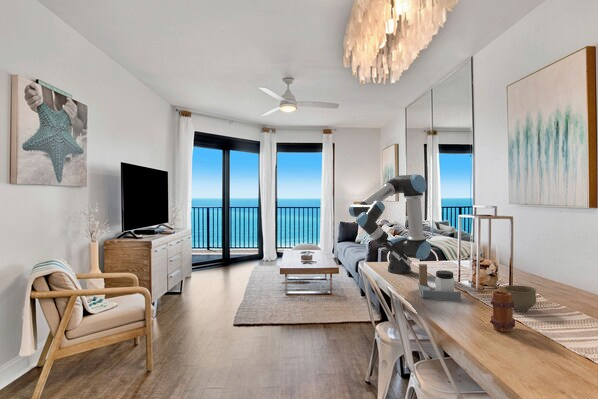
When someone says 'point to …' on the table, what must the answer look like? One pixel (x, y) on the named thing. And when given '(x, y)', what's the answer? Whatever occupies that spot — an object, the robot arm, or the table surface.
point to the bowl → (522, 297)
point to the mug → (502, 310)
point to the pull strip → (434, 294)
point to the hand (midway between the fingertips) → (405, 261)
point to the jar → (444, 281)
